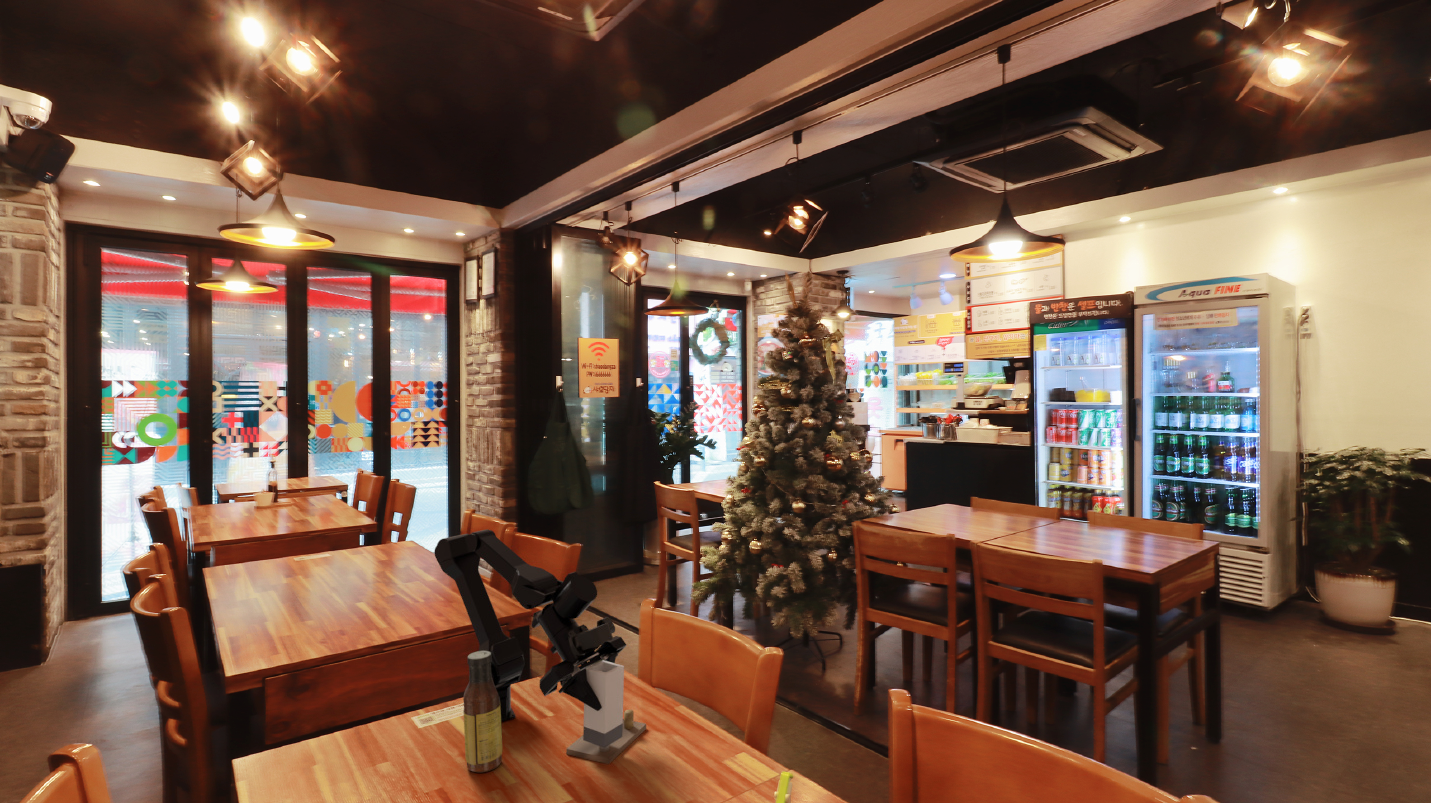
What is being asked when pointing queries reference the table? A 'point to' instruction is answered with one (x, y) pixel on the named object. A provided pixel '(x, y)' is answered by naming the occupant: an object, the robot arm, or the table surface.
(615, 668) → the grey sleeve
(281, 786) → the table surface
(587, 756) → the pin board
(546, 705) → the table surface
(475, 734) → the sauce bottle
